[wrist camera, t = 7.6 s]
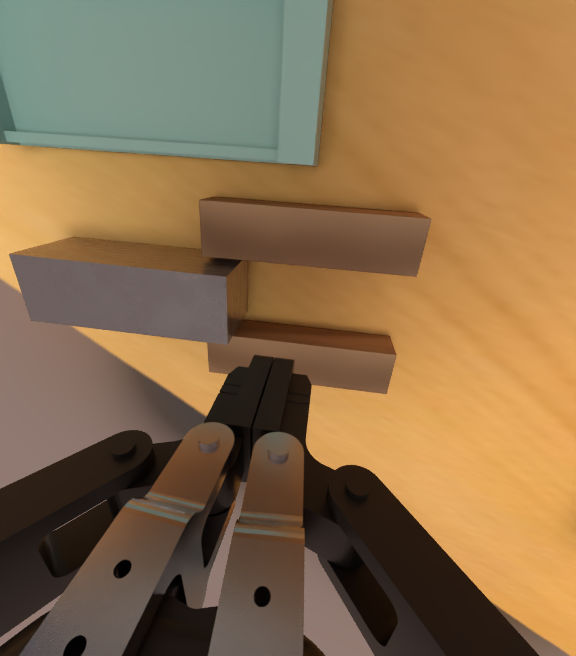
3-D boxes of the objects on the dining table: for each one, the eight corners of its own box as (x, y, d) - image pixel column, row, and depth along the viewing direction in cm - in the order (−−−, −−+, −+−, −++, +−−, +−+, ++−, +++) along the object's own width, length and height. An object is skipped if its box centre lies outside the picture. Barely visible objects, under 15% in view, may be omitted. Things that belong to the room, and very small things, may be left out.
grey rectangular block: (75, 236, 22) (8, 253, 17) (248, 253, 21) (226, 277, 16) (88, 291, 23) (31, 320, 19) (248, 309, 22) (227, 344, 18)
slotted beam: (214, 196, 19) (199, 200, 17) (419, 212, 18) (431, 219, 16) (220, 353, 24) (209, 371, 22) (381, 372, 23) (386, 394, 21)
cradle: (-26, -16, 16) (-164, -87, 12) (333, -6, 15) (335, -82, 10) (19, 145, 19) (-76, 137, 15) (317, 166, 18) (313, 165, 13)
